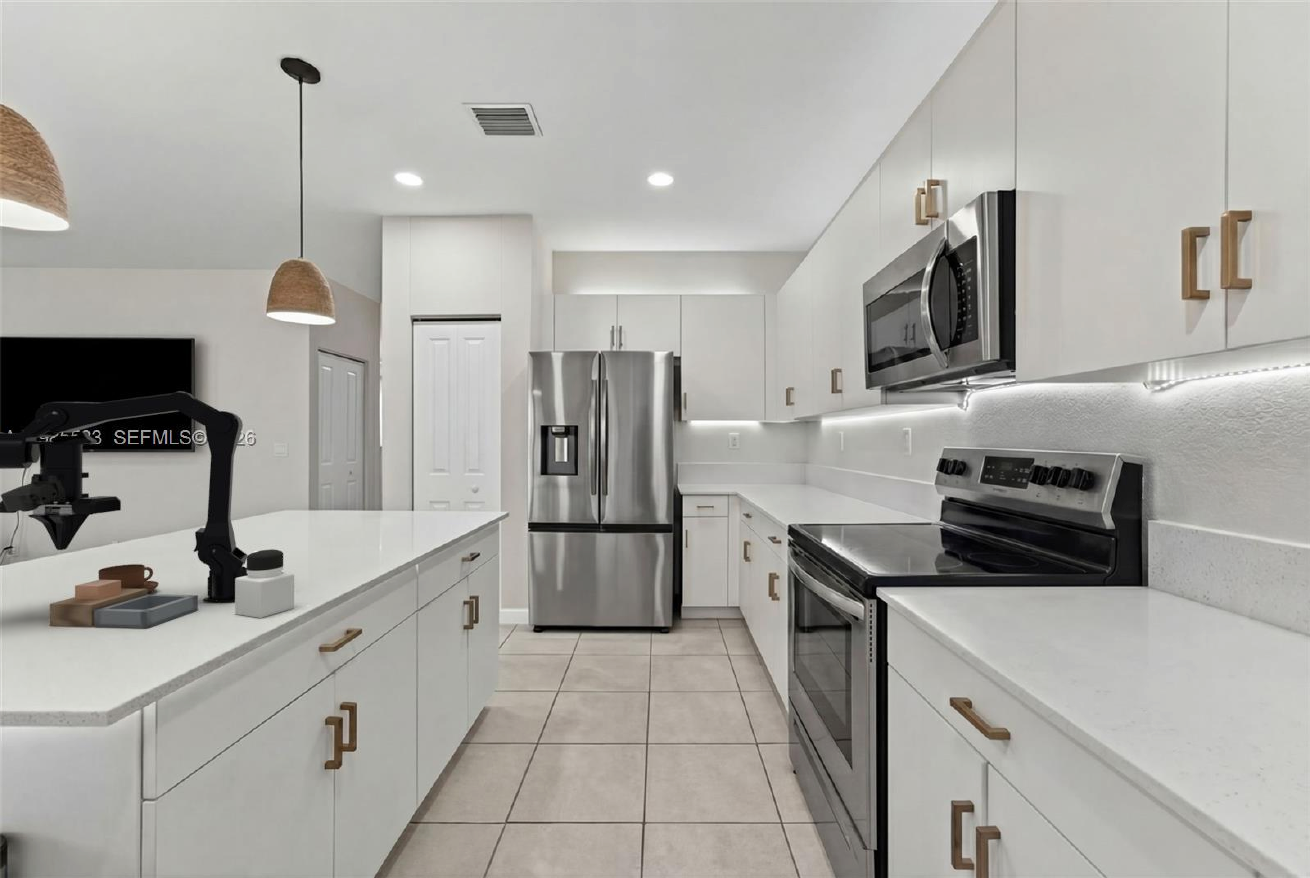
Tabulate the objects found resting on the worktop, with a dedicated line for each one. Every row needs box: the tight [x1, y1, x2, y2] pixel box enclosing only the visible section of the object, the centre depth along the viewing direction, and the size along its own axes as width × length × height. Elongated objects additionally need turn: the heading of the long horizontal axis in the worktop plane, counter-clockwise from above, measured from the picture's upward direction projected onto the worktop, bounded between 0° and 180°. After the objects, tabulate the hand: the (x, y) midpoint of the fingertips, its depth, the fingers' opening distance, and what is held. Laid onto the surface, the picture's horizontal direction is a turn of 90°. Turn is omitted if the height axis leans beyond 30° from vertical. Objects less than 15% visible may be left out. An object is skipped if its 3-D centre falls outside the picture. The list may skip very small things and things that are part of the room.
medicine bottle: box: [234, 548, 295, 619], centre depth 116 cm, size 7×7×12 cm
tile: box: [74, 579, 121, 600], centre depth 111 cm, size 4×4×2 cm
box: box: [93, 593, 199, 630], centre depth 111 cm, size 10×11×3 cm
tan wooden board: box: [49, 588, 149, 628], centre depth 111 cm, size 8×11×4 cm
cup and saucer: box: [98, 563, 159, 594], centre depth 126 cm, size 12×12×6 cm
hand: (61, 549), depth 112 cm, fingers closed
